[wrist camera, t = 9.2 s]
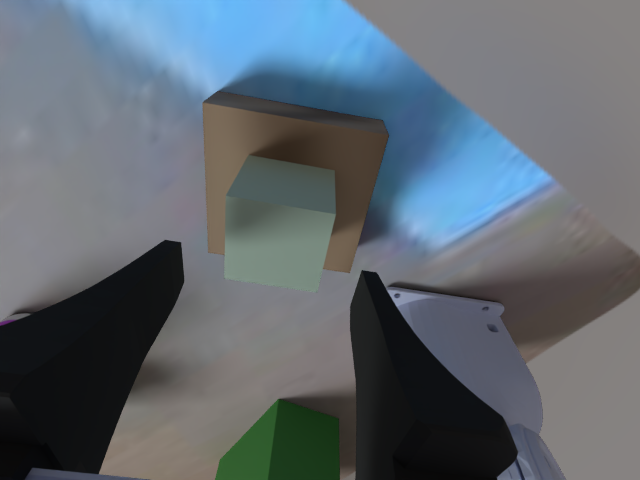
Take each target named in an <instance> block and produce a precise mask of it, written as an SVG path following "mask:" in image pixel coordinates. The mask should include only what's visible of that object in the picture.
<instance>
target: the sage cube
mask: <svg viewBox="0 0 640 480" xmlns="http://www.w3.org/2000/svg"><path fill="white" fill-rule="evenodd" d="M335 216H336V199H335V170H330V169H324V168H319V167H313V166H307V165H302V164H296V163H291V162H285V161H279V160H274V159H268V158H263V157H257V156H252V155H248V157H247V158H246V160H245V162H244V164H243V166H242V167H241V169H240V171H239V173H238V175H237V176H236V178H235V180H234V182H233V183H232V185H231V187H230V189H229V191H228V192H227V194H226V206H225V265H224V279H229V280H236V281H243V282H250V283H256V284H263V285H270V286H277V287H283V288H290V289H297V290H303V291H310V292H317V291H318V287H319V283H320V279H321V274H322V270H323V266H324V262H325V258H326V253H327V249H328V245H329V241H330V237H331V233H332V228H333V224H334V220H335Z"/></svg>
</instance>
